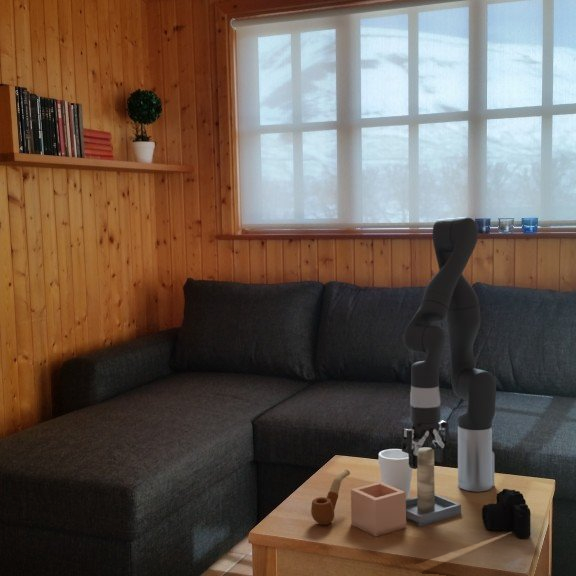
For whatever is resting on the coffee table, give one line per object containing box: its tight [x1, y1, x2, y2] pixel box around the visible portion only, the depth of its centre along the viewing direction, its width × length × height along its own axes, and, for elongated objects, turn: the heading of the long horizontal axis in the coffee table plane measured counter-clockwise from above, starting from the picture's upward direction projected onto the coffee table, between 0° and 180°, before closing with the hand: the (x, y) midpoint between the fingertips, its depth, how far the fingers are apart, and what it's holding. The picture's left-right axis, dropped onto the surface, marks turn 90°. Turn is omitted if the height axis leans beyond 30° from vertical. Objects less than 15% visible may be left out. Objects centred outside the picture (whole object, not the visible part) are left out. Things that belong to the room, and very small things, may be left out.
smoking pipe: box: [310, 469, 351, 526], centre depth 204 cm, size 7×18×6 cm
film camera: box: [481, 488, 532, 539], centre depth 194 cm, size 15×10×9 cm, turn 5°
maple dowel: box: [416, 446, 436, 514], centre depth 204 cm, size 4×4×16 cm
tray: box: [406, 493, 462, 527], centre depth 205 cm, size 14×11×2 cm
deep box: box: [350, 481, 407, 537], centre depth 197 cm, size 10×10×9 cm
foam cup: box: [378, 448, 413, 500], centre depth 213 cm, size 10×9×13 cm
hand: (426, 464), depth 203 cm, fingers open, 8 cm apart
